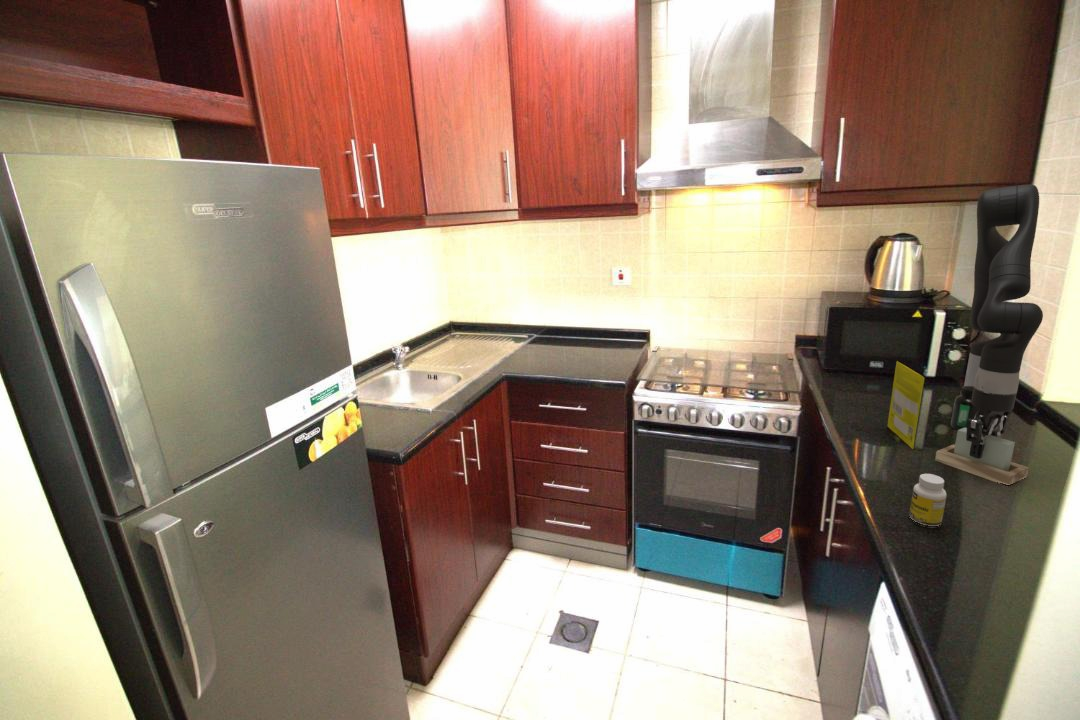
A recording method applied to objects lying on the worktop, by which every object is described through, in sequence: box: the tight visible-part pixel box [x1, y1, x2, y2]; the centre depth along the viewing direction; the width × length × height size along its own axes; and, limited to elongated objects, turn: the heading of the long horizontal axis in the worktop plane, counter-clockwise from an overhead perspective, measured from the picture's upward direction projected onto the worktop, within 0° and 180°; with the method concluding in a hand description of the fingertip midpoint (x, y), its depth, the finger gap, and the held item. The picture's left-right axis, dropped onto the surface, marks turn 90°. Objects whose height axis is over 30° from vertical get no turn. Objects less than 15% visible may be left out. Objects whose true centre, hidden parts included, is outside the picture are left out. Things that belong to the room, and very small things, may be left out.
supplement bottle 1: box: [908, 473, 947, 527], centre depth 104 cm, size 5×5×10 cm
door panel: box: [954, 428, 1016, 472], centre depth 122 cm, size 3×10×8 cm, turn 25°
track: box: [934, 443, 1030, 485], centre depth 123 cm, size 8×15×3 cm, turn 25°
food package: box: [887, 360, 925, 450], centre depth 139 cm, size 15×1×20 cm, turn 168°
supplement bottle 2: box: [950, 385, 978, 431], centre depth 143 cm, size 7×7×12 cm
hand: (981, 454), depth 122 cm, fingers open, 5 cm apart
